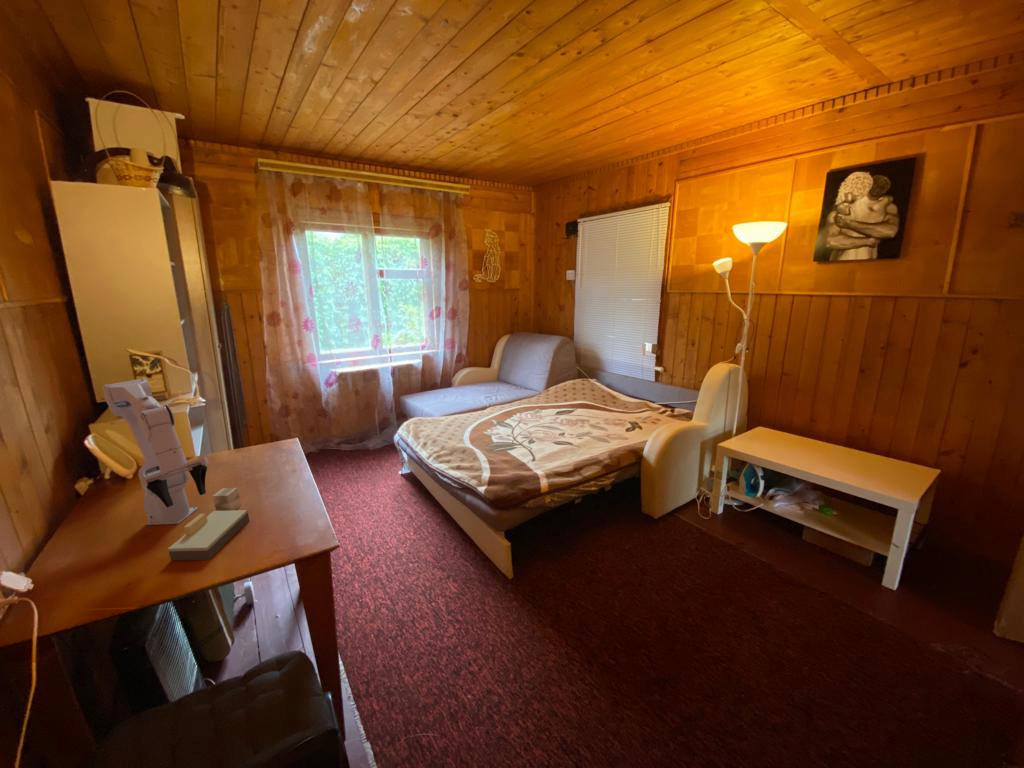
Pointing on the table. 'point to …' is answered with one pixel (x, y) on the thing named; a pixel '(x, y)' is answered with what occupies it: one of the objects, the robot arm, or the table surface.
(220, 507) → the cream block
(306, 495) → the table surface
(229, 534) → the grey storage tray
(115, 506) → the table surface
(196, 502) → the table surface
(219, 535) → the lid
